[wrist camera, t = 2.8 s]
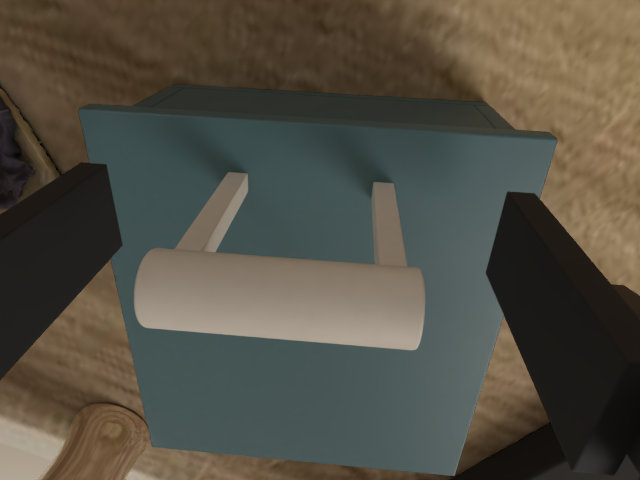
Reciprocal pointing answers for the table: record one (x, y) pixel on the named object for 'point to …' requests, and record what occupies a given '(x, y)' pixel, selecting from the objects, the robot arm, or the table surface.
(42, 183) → the bread roll
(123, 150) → the bread box lid
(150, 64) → the table surface
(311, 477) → the table surface
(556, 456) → the external hard drive
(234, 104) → the bread box
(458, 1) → the table surface
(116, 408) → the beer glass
